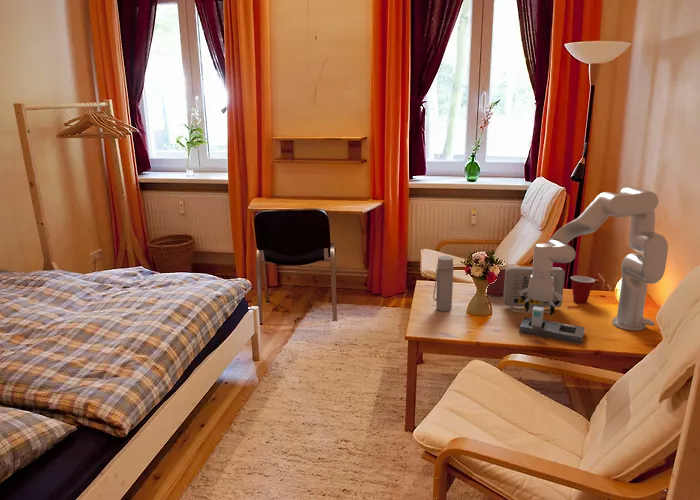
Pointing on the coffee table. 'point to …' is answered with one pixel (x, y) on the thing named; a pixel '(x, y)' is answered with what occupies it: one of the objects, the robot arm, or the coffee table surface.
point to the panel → (553, 331)
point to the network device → (520, 279)
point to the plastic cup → (581, 288)
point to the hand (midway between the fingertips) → (539, 312)
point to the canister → (498, 282)
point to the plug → (537, 316)
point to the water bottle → (444, 283)
